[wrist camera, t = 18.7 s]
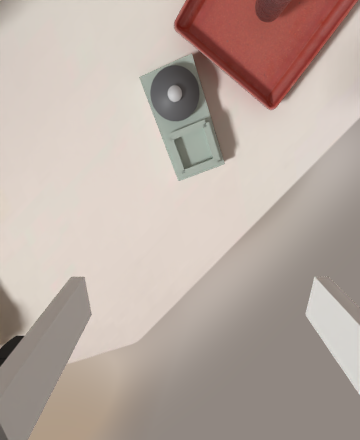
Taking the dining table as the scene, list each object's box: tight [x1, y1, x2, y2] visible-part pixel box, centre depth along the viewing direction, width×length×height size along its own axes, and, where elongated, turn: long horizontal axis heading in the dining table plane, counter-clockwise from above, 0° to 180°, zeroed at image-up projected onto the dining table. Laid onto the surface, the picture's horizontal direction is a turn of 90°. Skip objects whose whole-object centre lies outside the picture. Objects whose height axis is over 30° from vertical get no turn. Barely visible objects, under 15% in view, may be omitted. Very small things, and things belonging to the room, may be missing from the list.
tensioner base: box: [139, 54, 225, 181], centre depth 34 cm, size 16×8×4 cm, turn 21°
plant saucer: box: [174, 0, 358, 110], centre depth 30 cm, size 18×18×3 cm
